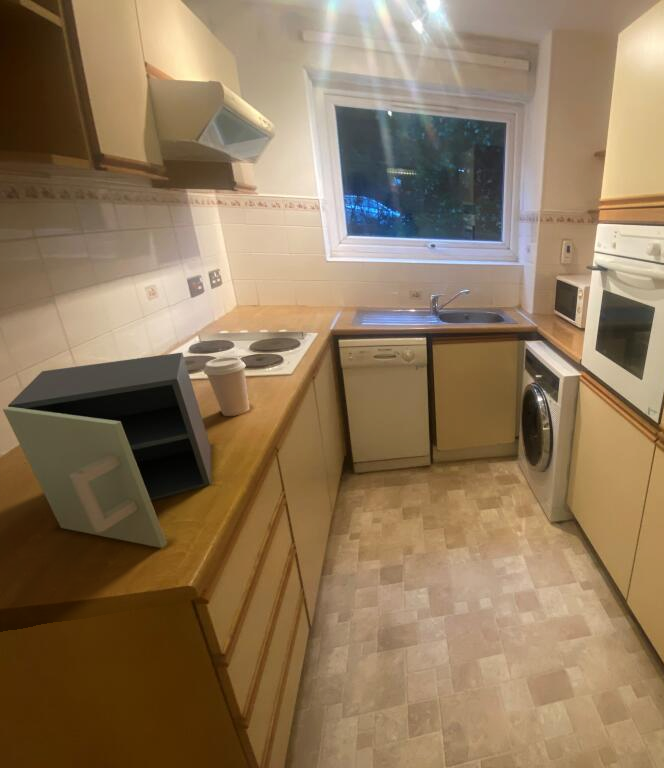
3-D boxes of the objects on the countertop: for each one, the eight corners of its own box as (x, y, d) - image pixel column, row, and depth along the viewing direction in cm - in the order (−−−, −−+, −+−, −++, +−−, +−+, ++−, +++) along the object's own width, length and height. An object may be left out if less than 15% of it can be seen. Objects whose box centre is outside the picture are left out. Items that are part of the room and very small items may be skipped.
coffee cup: (261, 403, 126) (249, 354, 120) (248, 418, 117) (235, 366, 112) (225, 406, 124) (211, 356, 119) (209, 421, 116) (194, 368, 110)
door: (127, 575, 68) (68, 443, 58) (21, 552, 72) (-49, 426, 63) (167, 545, 74) (120, 421, 65) (67, 525, 78) (10, 406, 69)
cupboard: (210, 486, 89) (177, 378, 80) (65, 525, 78) (7, 405, 69) (211, 447, 103) (182, 352, 94) (88, 476, 92) (42, 371, 83)
